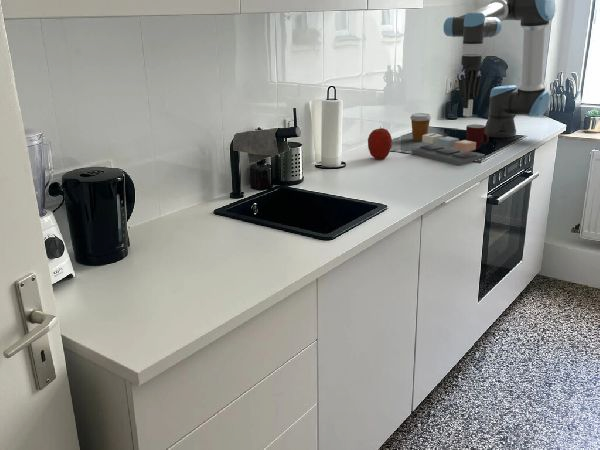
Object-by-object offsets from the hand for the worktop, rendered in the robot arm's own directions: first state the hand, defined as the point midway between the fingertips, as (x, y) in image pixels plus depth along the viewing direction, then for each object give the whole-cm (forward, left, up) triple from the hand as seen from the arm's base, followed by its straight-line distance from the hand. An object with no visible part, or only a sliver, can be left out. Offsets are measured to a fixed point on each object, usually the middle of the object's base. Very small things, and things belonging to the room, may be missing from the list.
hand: (467, 115), depth 238 cm
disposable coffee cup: (-14, -39, -19) cm, 45 cm away
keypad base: (0, -9, -18) cm, 21 cm away
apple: (+24, -25, -19) cm, 39 cm away
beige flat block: (0, 0, -14) cm, 14 cm away
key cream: (0, -18, -14) cm, 23 cm away
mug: (-20, -10, -19) cm, 29 cm away
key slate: (0, -9, -14) cm, 16 cm away
